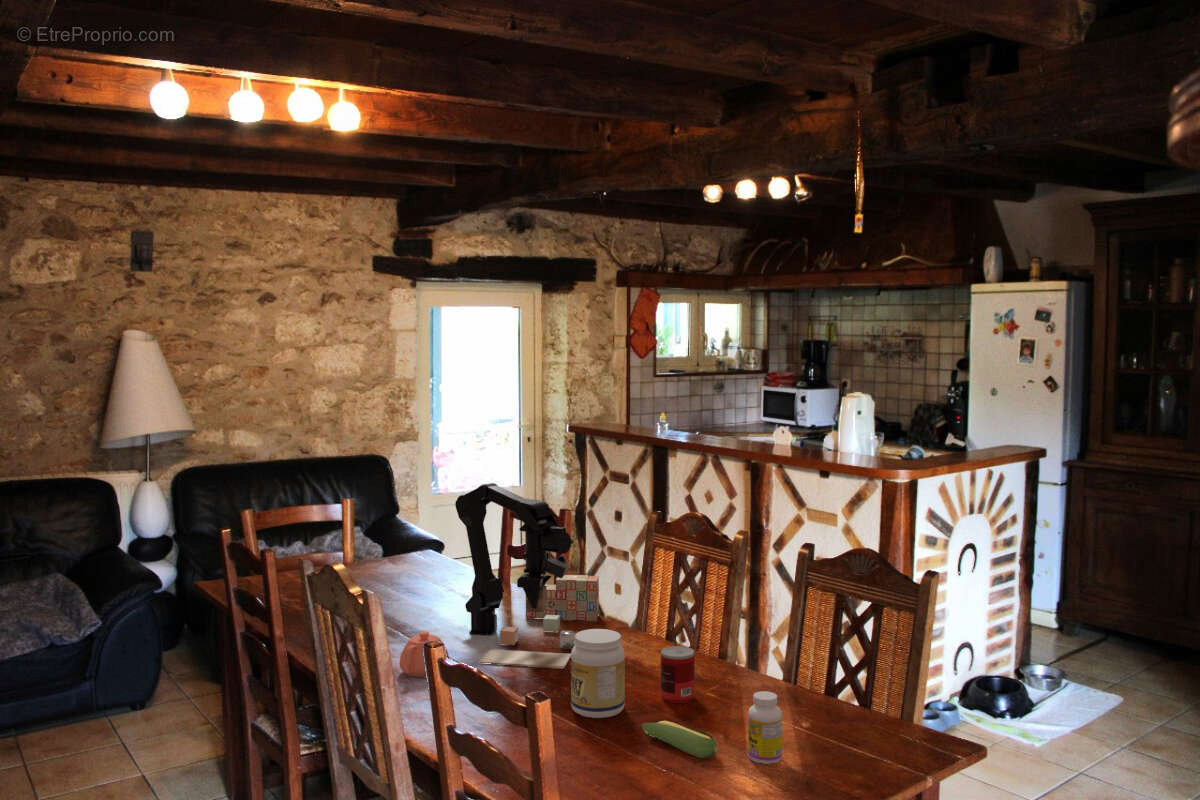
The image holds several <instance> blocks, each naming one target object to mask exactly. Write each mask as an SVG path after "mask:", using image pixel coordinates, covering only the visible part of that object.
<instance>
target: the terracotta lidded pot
mask: <svg viewBox="0 0 1200 800" xmlns="http://www.w3.org/2000/svg"><path fill="white" fill-rule="evenodd" d="M427 641H439V642H441V643H443V641H442V640H441V638H440V637H439V636H438V635H435V634H430V632H429V631H421V632H419V633H418V635H417V634H416V635H414V636H412V637H410V638H408V641H407V642H406V644H405V645H404V647H403V649H402V651H401V653H400V658H399V668H400V669H401V670H402V671H403V672H404V673H405V674H406V676H409V675H410V676H411V677H418V678H423V679H427V678H426V671H425V662H424V656H423V644H424V643H425V642H427ZM443 644H444V643H443ZM445 648H446V654H447V658H448V659H449V660H450V655H449V652H448V649H447V647H446V646H445ZM410 676H409V677H410ZM424 677H425V678H424Z"/></svg>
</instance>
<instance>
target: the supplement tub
mask: <svg viewBox="0 0 1200 800" xmlns="http://www.w3.org/2000/svg"><path fill="white" fill-rule="evenodd" d="M621 638H622V635H621V634H620V633H619V632H618V631H615V630H611V629H606V628H605V629H604V628H590V629H584V630H581V631H578V632H577V633H575V641H574V644H575V646H574V647H573V649H571V650H570V651H571V652H570V654H571V658H570V705H571V709H572V710H573V712H575V713H576V714H578V715H579V714H580V716H582V717H586V718H590V717H591V718H592V719H604V718H606V717H607V718H610V717H611V718H612V717H613V716H617V715H618V714H620V713H621V712H622V711H623V710H624V707H625V705H626V701H625V700H626V699H625V698H626V695H625V694H626V693H625V692H626V691H625V685H626V684H625V683H626V682H625V677H626V674H625V673H626V672H625V670H626V669H625V667H626V666H625V665H626V663H625V662H626V658H625V657H626V655H625V654H626V652H625V650H624V648H623V647H622V639H621Z"/></svg>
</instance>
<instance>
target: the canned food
mask: <svg viewBox="0 0 1200 800" xmlns="http://www.w3.org/2000/svg"><path fill="white" fill-rule="evenodd" d="M660 651H661V652H660V695H661V698H662V700H664V701H665V702H666V703H670V702H671V704H684V703H685V702H686V703H688V702H691V701H693V699H694V696H695V651H694V649H693V648H691V647H688V646H683V645H682V646H681V645H673V646H667V647H664V648H662V649H661V650H660ZM686 703H685V704H686Z"/></svg>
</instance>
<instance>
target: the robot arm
mask: <svg viewBox="0 0 1200 800" xmlns="http://www.w3.org/2000/svg"><path fill="white" fill-rule="evenodd" d="M490 503H494V504H496V505H498V506H500V507H503V508H504V509H506V510H508V511H510V512H512V513H513V514H515V515H516V517H517V518H518V519H519V521H521V522H522V523H523V525H522V526H520V527H519V528H518V529H519V531H520V532H525V536H524V537H525V538H524V539H525V541H524V543H525V552H524V553H523V558H524V559H525V567H524V568H523V573H522V575H521V576H519V577H518V578H517V580H516V587H517V588H521V589H522V590H523V592H524V594H525V597H526V596H527V598H528V600H529V602H530V604H531V606H532V608H535V609H536V608H537V603H538V596H539V590H540V589H541V588H542V587H543V586H545V584H547V582H548V581H549V580H550V579H551V578H552V575H554V576H556V578H557V577H558V578H563V576H564V575H566V572H567V571H568V567H569V562H567V558H566V557H567V556H564V555H565V554H567V553H568V552H569V551H570V550H571V547H572V541H573V540H572V538H571V535H570V534H569V533H568V532H567V527H562V526H561V527H559V524H558V522H557V520H556V518H555V517H554V514H553V513H552V511H551V509H550V505H549V504H548V503H547V502H546V501H544V500H539V499H533V498H524V497H522V496H521V495H518V494H517V493H513V492H512V491H510V490H507V489H505V488H503V487H501V486H499V485H498V484H497V483H494V482H490V483H489V482H488V483H484V484H481V485H479V486H478V487H476V488H475V489H473V490H471V491H469V492H467V493H465V494H461V495H459V496H458V497H457V498H456V500H455V509H456V512H457V515H458V516H457V517H458V519H459V520H460V521H461V522H462V523H463V525H464V526H465V529H466V534H467V539H468V544H469V545H468V546H469V550H470V555H471V561H472V566H473V572H474V579H473V582H472V585H471V595H472V596H471V597H470V598H469V599H468V600H467V602H466V603H465V610H466V612H467V613H470V630H469V632H468V633H469V634H470V635H489V636H490V634H491V635H493V634H494V632H496V630H497V629H498V615H497V613H496V609H500V606H501V603H502V600H503V599H504V592H505V589H504V587H503V580H502V578H501V577H498V578H497V576H496V575H495V574H494V572H493V569H492V563H491V559H490V557H491V556H490V551H489V546H488V541H487V537H486V531H485V525H484V521H485V518H486V516H487V513H488V512H487V506H488V505H489V504H490ZM550 552H551V553H556V554H561V555H560V556H558V557H551V556H550ZM547 573H548V574H549V575H547Z"/></svg>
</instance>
